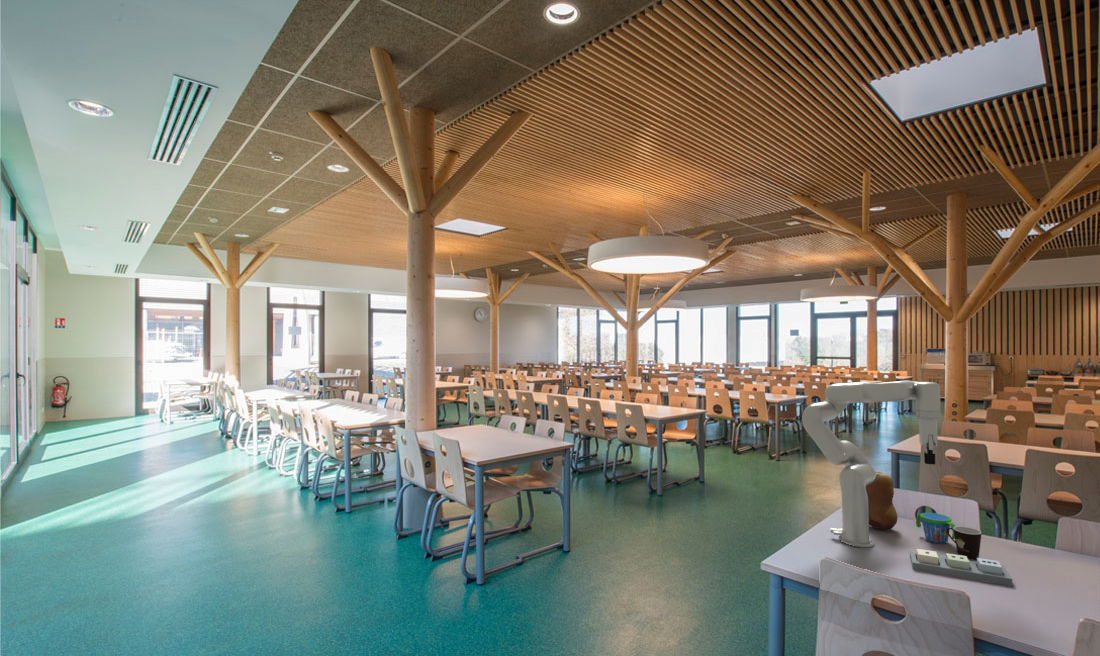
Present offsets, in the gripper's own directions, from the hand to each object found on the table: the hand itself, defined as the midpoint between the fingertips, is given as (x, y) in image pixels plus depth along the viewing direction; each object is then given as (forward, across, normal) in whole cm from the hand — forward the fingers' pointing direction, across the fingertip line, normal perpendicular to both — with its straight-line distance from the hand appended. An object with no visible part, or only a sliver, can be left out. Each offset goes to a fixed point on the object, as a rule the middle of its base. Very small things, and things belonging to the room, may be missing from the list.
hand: (929, 463), depth 200 cm
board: (+37, +4, +7) cm, 38 cm away
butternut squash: (+37, -33, -16) cm, 52 cm away
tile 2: (+36, +4, +16) cm, 40 cm away
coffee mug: (+37, -15, +12) cm, 42 cm away
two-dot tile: (+36, +4, +7) cm, 37 cm away
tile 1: (+36, +4, -2) cm, 37 cm away
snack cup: (+37, -27, +4) cm, 46 cm away
